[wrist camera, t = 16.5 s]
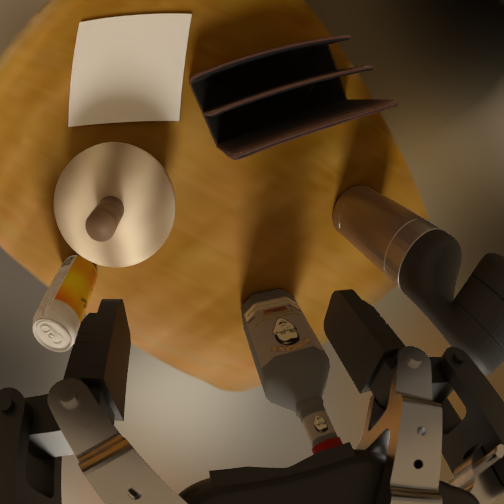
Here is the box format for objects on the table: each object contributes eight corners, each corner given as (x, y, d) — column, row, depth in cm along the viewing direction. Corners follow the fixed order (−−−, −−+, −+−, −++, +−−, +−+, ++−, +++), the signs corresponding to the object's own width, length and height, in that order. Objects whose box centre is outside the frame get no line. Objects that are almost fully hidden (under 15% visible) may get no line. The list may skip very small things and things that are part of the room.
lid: (177, 140, 28) (176, 146, 23) (175, 262, 35) (176, 290, 30) (52, 147, 24) (28, 156, 19) (66, 263, 31) (51, 290, 26)
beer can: (78, 291, 40) (53, 359, 27) (57, 262, 37) (21, 326, 24) (105, 276, 40) (84, 346, 27) (83, 245, 37) (49, 309, 24)
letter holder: (344, 103, 36) (409, 109, 24) (216, 148, 36) (235, 169, 24) (323, 41, 31) (385, 23, 19) (187, 81, 30) (190, 63, 18)
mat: (191, 15, 26) (191, 13, 25) (179, 120, 32) (179, 120, 32) (81, 23, 22) (79, 22, 21) (69, 126, 29) (68, 127, 28)
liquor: (290, 322, 53) (360, 460, 28) (244, 333, 52) (295, 484, 26) (290, 283, 49) (380, 435, 23) (238, 294, 47) (299, 467, 22)
